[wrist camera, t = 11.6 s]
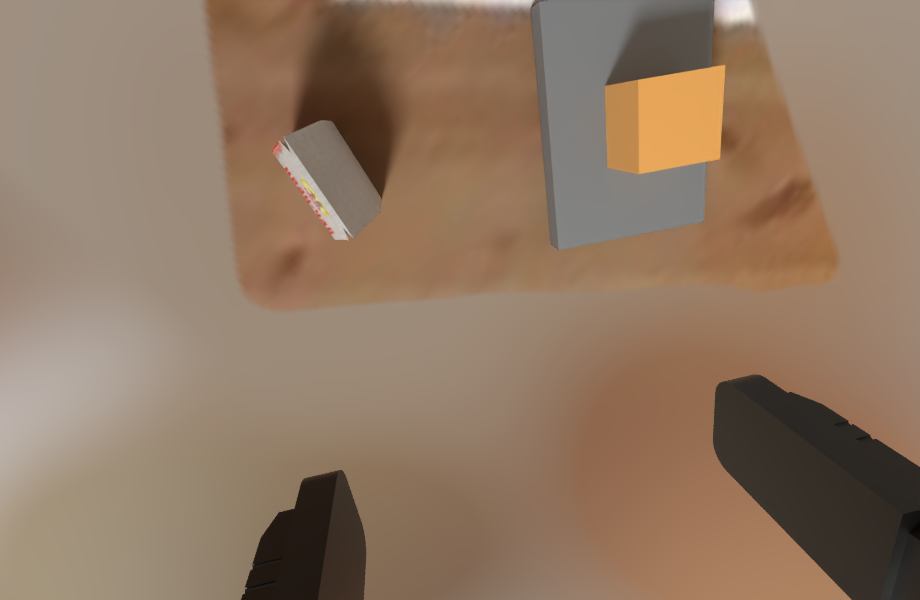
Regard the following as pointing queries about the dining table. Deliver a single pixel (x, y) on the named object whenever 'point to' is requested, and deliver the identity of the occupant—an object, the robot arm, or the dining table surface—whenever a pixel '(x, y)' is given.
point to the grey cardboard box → (329, 178)
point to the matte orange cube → (665, 120)
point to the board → (584, 115)
